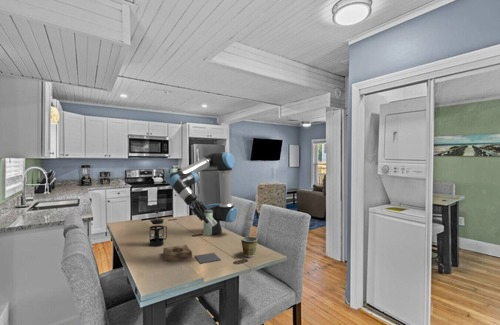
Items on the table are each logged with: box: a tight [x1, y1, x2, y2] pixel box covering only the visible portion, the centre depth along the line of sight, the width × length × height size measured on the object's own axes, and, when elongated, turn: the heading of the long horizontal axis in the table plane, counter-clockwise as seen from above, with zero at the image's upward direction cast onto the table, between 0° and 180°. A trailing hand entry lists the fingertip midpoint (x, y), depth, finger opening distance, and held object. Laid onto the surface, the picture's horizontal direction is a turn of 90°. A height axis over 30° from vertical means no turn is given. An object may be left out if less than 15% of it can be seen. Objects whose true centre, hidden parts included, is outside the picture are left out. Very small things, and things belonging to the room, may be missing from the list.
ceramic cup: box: [240, 236, 258, 258], centre depth 156 cm, size 13×10×10 cm
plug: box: [202, 210, 213, 236], centre depth 148 cm, size 5×5×14 cm
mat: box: [194, 252, 222, 265], centre depth 148 cm, size 12×12×1 cm
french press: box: [148, 210, 168, 248], centre depth 172 cm, size 12×9×23 cm
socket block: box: [163, 244, 193, 262], centre depth 152 cm, size 14×14×4 cm
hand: (213, 225), depth 148 cm, fingers closed on plug, 5 cm apart
